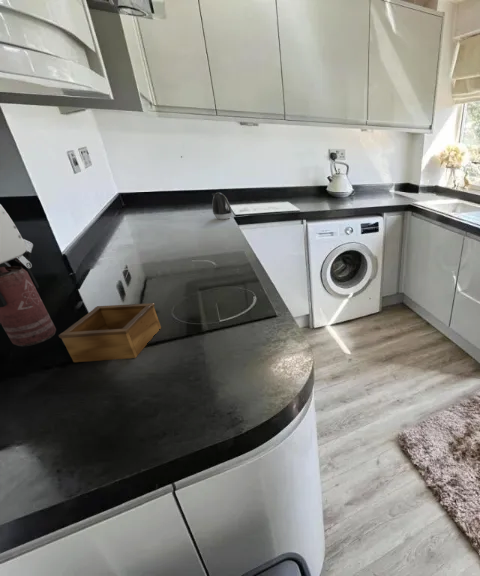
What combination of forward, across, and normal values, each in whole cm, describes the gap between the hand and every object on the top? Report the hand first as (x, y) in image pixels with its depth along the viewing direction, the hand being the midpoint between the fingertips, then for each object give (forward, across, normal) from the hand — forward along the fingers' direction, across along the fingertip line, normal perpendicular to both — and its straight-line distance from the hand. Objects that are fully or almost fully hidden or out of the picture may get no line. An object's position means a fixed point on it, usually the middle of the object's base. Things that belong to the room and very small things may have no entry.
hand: (12, 296), depth 59 cm
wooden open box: (+21, -14, +4) cm, 25 cm away
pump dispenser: (+21, -143, -8) cm, 145 cm away
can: (+9, 0, 0) cm, 9 cm away
